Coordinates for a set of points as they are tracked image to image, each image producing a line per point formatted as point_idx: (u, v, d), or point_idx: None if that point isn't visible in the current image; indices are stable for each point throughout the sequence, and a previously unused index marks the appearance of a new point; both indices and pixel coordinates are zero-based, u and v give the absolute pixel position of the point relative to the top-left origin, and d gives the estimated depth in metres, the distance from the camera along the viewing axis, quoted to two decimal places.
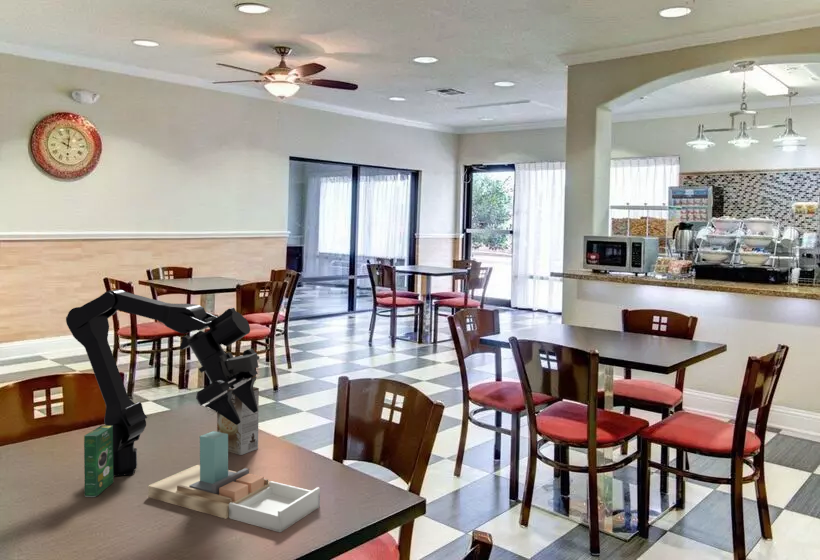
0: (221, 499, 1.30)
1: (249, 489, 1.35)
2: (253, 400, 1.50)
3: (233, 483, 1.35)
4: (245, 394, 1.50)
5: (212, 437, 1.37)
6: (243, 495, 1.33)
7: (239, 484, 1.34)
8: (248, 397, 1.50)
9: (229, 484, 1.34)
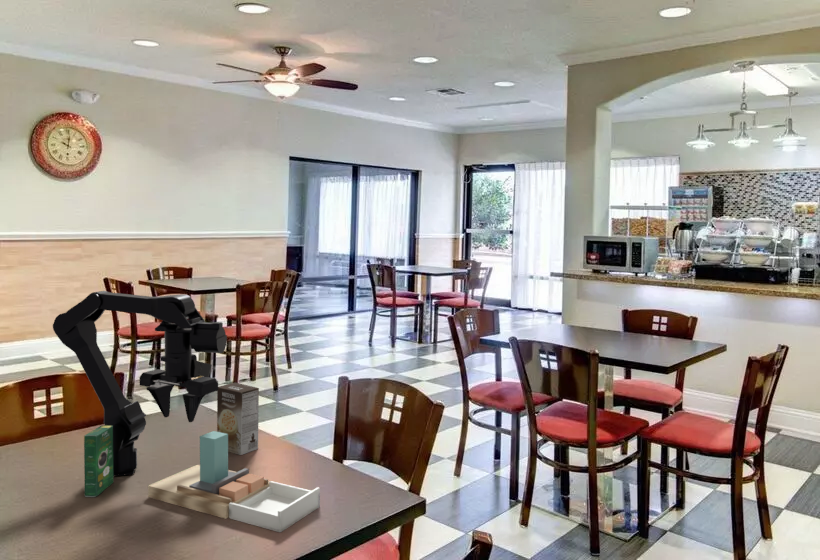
0: (221, 499, 1.30)
1: (249, 489, 1.35)
2: (169, 405, 1.51)
3: (233, 483, 1.35)
4: (165, 397, 1.50)
5: (212, 437, 1.37)
6: (243, 495, 1.33)
7: (239, 484, 1.34)
8: (165, 401, 1.51)
9: (229, 484, 1.34)
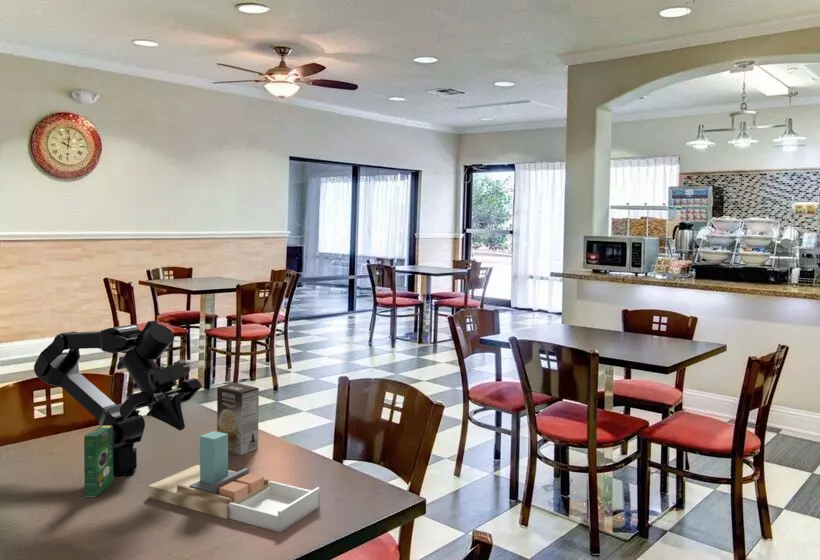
0: (221, 499, 1.30)
1: (249, 489, 1.35)
2: (179, 417, 1.43)
3: (233, 483, 1.35)
4: None
5: (212, 437, 1.37)
6: (243, 495, 1.33)
7: (239, 484, 1.34)
8: None
9: (229, 484, 1.34)
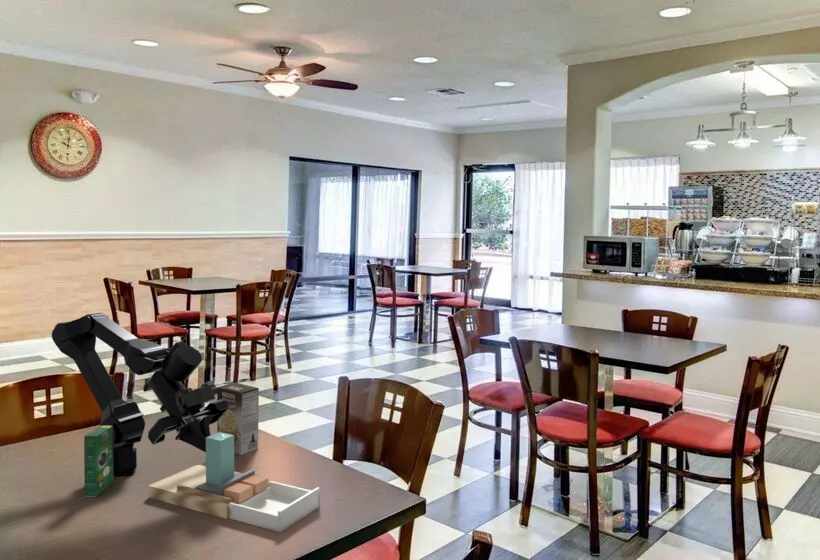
0: (221, 499, 1.30)
1: (253, 490, 1.35)
2: None
3: (237, 484, 1.34)
4: None
5: (218, 438, 1.36)
6: (248, 496, 1.33)
7: (243, 485, 1.34)
8: None
9: (233, 485, 1.34)
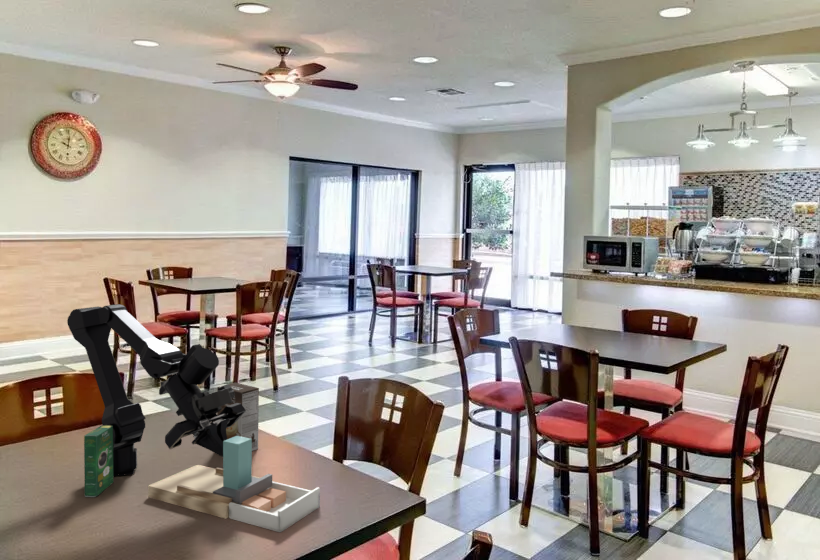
0: (221, 499, 1.30)
1: (271, 504, 1.33)
2: None
3: (256, 497, 1.32)
4: None
5: (236, 442, 1.34)
6: None
7: (262, 499, 1.32)
8: None
9: (252, 498, 1.32)
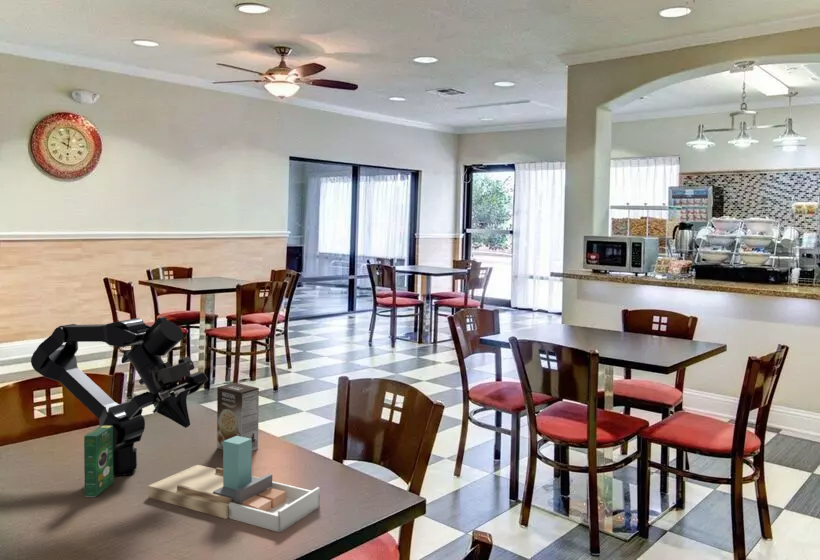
0: (221, 499, 1.30)
1: (271, 504, 1.33)
2: (184, 414, 1.44)
3: (256, 497, 1.32)
4: None
5: (236, 442, 1.34)
6: None
7: (262, 499, 1.32)
8: (180, 411, 1.45)
9: (252, 498, 1.32)
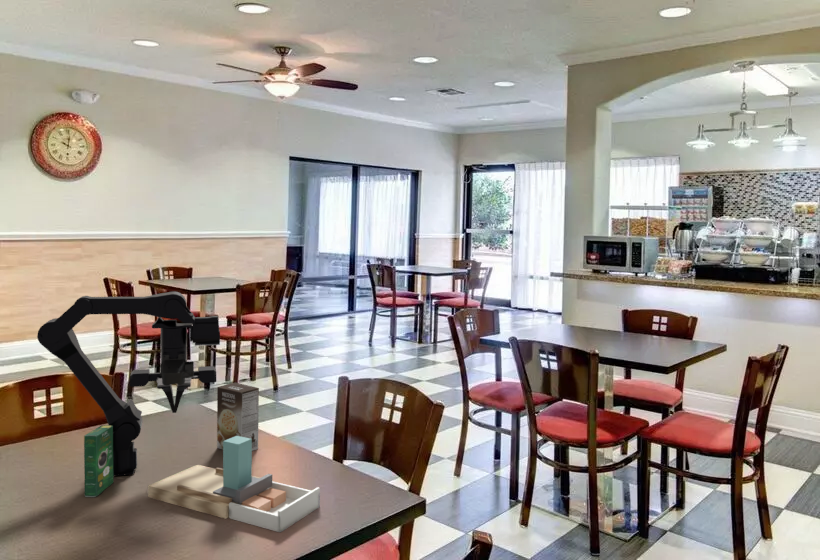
0: (221, 499, 1.30)
1: (271, 504, 1.33)
2: (175, 402, 1.54)
3: (256, 497, 1.32)
4: (176, 392, 1.55)
5: (236, 442, 1.34)
6: None
7: (262, 499, 1.32)
8: None
9: (252, 498, 1.32)
